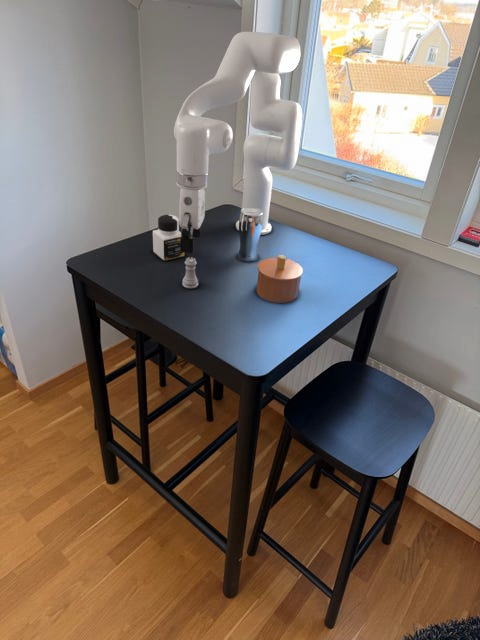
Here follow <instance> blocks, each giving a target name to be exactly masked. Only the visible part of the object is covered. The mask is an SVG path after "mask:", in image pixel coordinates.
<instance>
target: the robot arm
mask: <svg viewBox="0 0 480 640" xmlns="http://www.w3.org/2000/svg"><path fill="white" fill-rule="evenodd" d="M300 58H301V44H300V42H299V40H298V38H297V37H296V36H293V35H287V34H286V35H285V34H277V33H270V32H262V31H241V32H238V33H236V34H235V35H234V36H233V37H232V39H231V41H230V43H229V45H228V46H227V49H226V51H225V53H224V56H223V58H222V60H221V62H220V65H219V67H218V69H217V72H216V73H215V76H214V77H212V78H211V79H209V80H208V81H206V82H204V83H203V84H202V85H200V86H198V87H197V88H196V89H195V90H193V91H192V92H191V93H190V94H189V95H188V96H187V97H186V99H185V100H184V102H183V103H182V106H181V108H180V110H179V112H178V115H177V117H176V120H175V122H174V127H173V137H174V139H175V142H176V171H175V172H176V175H175V177H176V178H175V180H176V181H175V182H176V186H177V187H178V188H180V191H179V208H178V209H179V212H178V213H179V214H178V215H179V217H178V219H179V228H181V231H180V232H181V238H180V251H181V252H184V254H185V253H186V254H193V253H194V245H195V244H194V243H195V242H194V241H195V238H197V239H200V238H201V226H202V224H203V222H204V220H205V217H206V215H205V214H206V210H205V209H206V207H205V206H206V205H205V204H206V200H205V199H206V191H205V190H206V188H208V181H209V162H210V161H209V159H210V155H217V154H219V155H220V154H222V153H225V152H227V150H228V149H229V148H230V147H231V145H232V142H233V138H234V133H233V129H232V127H231V126H230V124H229V123H227V122H225V121H223V120H221V119H216V118H210V117H204V116H203V114H205V113H206V112H208V111H211V110H213V109H216V108H220V107H224V106H227V105H231V104H233V103H237V102H239V101H241V100H242V99H244V97H245V96H246V93H247V91H248V89H249V86H250V85H251V86H250V87H251V88H250V104H249V105H250V107H249V122H250V125H251V126H252V128H254V129H256V130H258V131H262V132H268V133H273V134H279V135H280V136H277V135H272V134H266V133H251V134H249V135H248V136H247V137H246V138H245V139H244V143H243V147H242V148H243V162H244V163H243V164H244V172H243V173H244V174H243V186H242V199H241V209H243V208H247V207H252V208H257V209H260V210H262V212H263V222H262V230H261V235H260V236H264V235H267V234H269V233H270V232H272V225H271V223H270V222H269V217H270V216H269V215H270V206H271V198H272V191H273V190H272V189H273V175H272V172H271V171H270V170H271V169H275V170H280V171H291V170H293V169H294V167H295V166H296V164H297V161H298V156H299V151H300V150H299V148H300V141H301V140H300V139H301V132H302V131H301V130H302V124H303V123H302V122H303V111H302V108H301V105H300V104H299V103H298V102H296V101H294V100H290V99H289V100H288V99H283V98H281V97H280V94H281V74H287V73H288V74H289V73H291V72H292V71H294V70H295V69H296V67H297V66H298V64H299V62H300ZM235 228H236V230H237V231H239V220H237V221H236V223H235Z"/></svg>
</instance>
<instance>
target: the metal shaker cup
mask: <svg viewBox="0 0 480 640" xmlns="http://www.w3.org/2000/svg"><path fill="white" fill-rule="evenodd" d="M238 221H239V230H238V236H239V249H238V254H237V258H238V260H241V261H242V262H255V261H256V260H258V245H259V241H260V237H261V236H262V235H261V230H262V222H263V212H262V210H260V209H257V208H252V207H247V208H243V209H242V208H241V209H240V214H239V219H238Z"/></svg>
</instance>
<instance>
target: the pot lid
mask: <svg viewBox="0 0 480 640" xmlns="http://www.w3.org/2000/svg"><path fill="white" fill-rule="evenodd" d="M257 271H258V272H260V273H261V274H262V275H264V276H265V277H267V278H270V279H274V280H279V281H291V280H295V279H298V278H299V277H301V278H302V276H303V273H304V268H303V267H302V266H301V264H299V263H298V262H296V261H294V260H292V259H288V258H287V256H286V255H284V254H278V255H277V257H267V258H264V259H262V260H260V261H259V262H258V264H257Z"/></svg>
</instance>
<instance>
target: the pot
mask: <svg viewBox="0 0 480 640" xmlns="http://www.w3.org/2000/svg"><path fill="white" fill-rule="evenodd" d="M301 278H302V276H301V277H299V278H298V279H295V280H291V281H279V280H274V279H270V278H267V277H265V276H264V275H262V274H261V273H260V272H259V271H258V273H257V280H256V281H257V282H256V294H257V295H258V296H259V298H261V299H263V300H265V301H268V302H270V303H275V304H277V303H278V304H287V303H290V302H292V301H295V299H297V297H298V295H299V290H300V284H301Z"/></svg>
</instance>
